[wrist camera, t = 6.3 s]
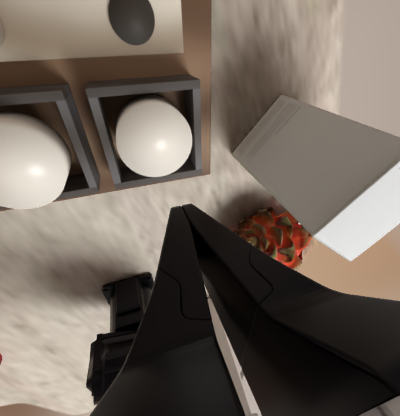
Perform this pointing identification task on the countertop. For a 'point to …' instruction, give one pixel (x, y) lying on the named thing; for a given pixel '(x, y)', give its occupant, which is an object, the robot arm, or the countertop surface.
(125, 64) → the button board
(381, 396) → the robot arm
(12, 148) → the button middle
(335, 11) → the countertop surface
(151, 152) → the button
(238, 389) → the grater
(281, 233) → the dragon fruit
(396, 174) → the supplement box
